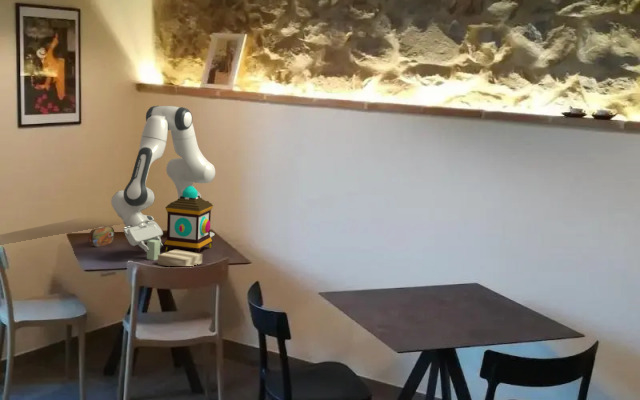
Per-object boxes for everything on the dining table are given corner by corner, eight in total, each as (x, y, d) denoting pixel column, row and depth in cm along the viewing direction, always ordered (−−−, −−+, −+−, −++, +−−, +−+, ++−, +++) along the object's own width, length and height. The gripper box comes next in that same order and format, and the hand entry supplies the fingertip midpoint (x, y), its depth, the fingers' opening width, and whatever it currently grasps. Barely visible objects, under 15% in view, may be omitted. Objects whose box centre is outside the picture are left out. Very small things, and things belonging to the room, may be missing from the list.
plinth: (175, 258, 341) (175, 249, 340) (202, 263, 336) (202, 254, 335) (157, 264, 329) (157, 255, 329) (185, 269, 324) (185, 260, 323)
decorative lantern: (159, 252, 350) (160, 186, 345) (176, 243, 369) (178, 181, 364) (200, 257, 346) (202, 191, 341) (216, 247, 365) (218, 185, 360)
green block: (152, 257, 341) (152, 239, 339) (159, 258, 339) (160, 240, 338) (146, 258, 337) (147, 241, 336) (154, 260, 335) (154, 242, 334)
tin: (92, 248, 349) (93, 230, 348) (87, 247, 351) (87, 229, 349) (115, 242, 363) (115, 225, 361) (109, 241, 364) (110, 224, 363)
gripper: (126, 223, 328) (144, 248, 326) (154, 215, 347) (172, 240, 345) (117, 231, 331) (135, 257, 329) (146, 224, 349) (163, 248, 347)
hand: (154, 248), depth 337 cm, fingers open, 8 cm apart
